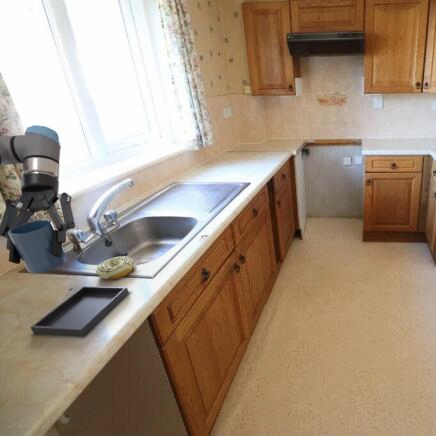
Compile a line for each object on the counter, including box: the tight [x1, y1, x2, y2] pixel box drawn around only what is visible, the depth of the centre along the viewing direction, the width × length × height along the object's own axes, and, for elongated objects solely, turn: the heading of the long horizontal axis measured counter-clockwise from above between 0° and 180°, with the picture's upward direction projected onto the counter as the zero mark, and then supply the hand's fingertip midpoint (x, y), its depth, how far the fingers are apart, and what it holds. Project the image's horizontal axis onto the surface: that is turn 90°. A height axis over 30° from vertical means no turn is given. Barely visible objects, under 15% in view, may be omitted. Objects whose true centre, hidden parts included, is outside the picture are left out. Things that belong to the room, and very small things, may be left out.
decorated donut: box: [95, 255, 135, 281], centre depth 106 cm, size 10×11×4 cm
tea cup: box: [8, 219, 68, 274], centre depth 82 cm, size 8×8×11 cm
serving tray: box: [29, 285, 130, 338], centre depth 89 cm, size 17×14×2 cm
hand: (36, 258), depth 80 cm, fingers closed on tea cup, 8 cm apart
